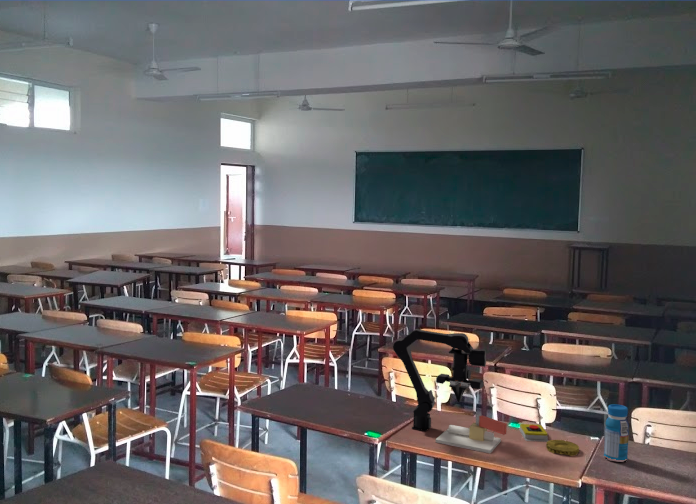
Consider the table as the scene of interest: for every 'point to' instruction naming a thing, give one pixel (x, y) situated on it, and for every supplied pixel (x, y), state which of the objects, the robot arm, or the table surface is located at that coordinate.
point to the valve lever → (491, 424)
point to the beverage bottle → (616, 433)
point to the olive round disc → (562, 447)
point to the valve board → (469, 438)
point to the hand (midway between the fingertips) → (459, 401)
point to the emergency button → (533, 432)
